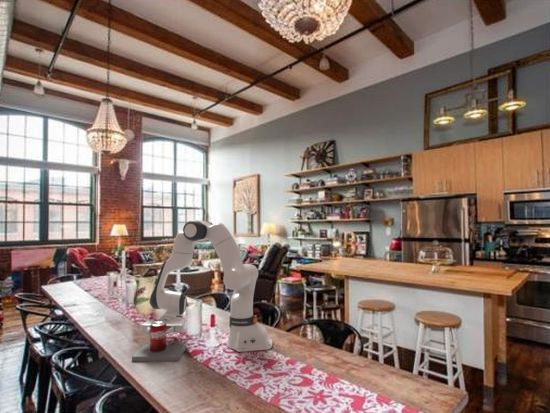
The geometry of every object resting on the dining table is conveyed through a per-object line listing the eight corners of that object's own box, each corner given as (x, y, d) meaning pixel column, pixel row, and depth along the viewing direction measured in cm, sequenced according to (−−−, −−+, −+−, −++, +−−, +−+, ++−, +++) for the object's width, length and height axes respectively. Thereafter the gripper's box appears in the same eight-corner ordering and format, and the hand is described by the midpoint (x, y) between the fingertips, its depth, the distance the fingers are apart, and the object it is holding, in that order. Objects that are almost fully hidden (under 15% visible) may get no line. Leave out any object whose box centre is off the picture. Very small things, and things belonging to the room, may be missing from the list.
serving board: (186, 348, 155) (186, 344, 155) (177, 361, 141) (177, 356, 141) (144, 348, 155) (144, 344, 155) (131, 361, 141) (132, 356, 141)
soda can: (149, 348, 151) (150, 322, 151) (166, 346, 153) (166, 320, 154) (149, 354, 144) (149, 326, 144) (166, 352, 146) (166, 325, 147)
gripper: (146, 316, 162) (135, 325, 148) (187, 316, 162) (179, 325, 148) (146, 329, 162) (134, 339, 148) (187, 329, 162) (179, 339, 148)
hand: (157, 332), depth 148 cm, fingers closed on soda can, 7 cm apart
